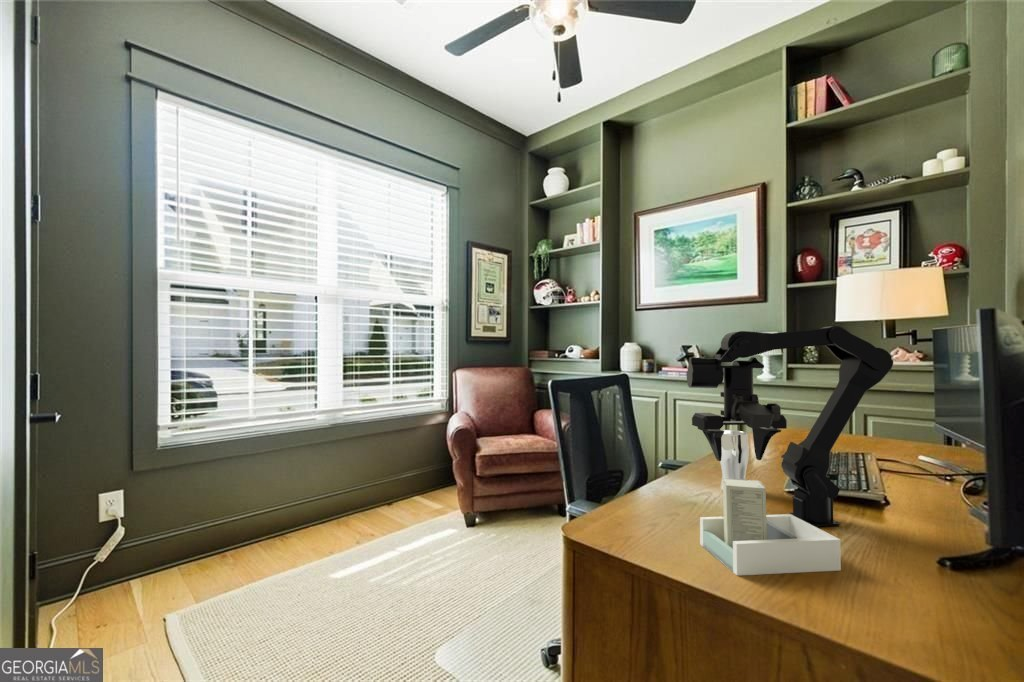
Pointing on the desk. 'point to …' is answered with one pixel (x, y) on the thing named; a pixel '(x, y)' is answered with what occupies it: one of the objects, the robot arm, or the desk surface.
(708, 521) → the box
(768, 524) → the tall grey panel
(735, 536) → the skincare box
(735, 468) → the beer glass
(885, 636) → the desk surface
